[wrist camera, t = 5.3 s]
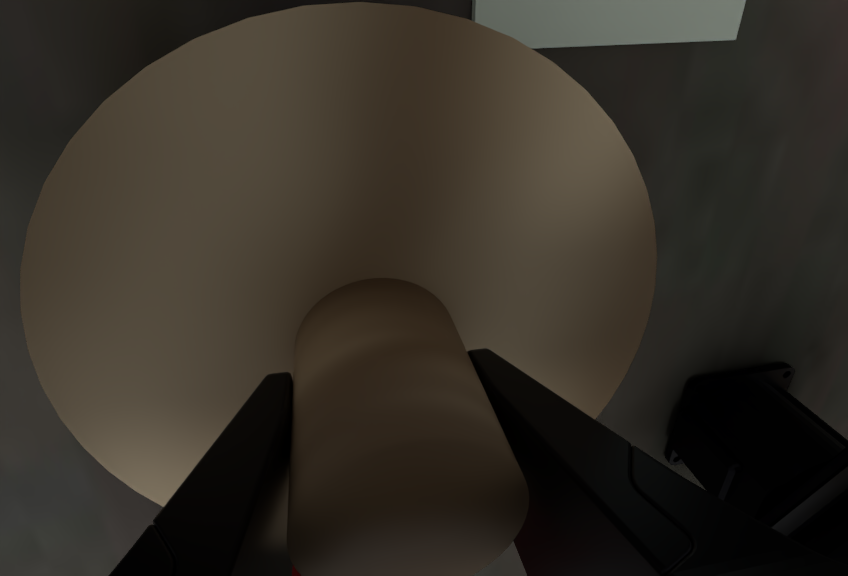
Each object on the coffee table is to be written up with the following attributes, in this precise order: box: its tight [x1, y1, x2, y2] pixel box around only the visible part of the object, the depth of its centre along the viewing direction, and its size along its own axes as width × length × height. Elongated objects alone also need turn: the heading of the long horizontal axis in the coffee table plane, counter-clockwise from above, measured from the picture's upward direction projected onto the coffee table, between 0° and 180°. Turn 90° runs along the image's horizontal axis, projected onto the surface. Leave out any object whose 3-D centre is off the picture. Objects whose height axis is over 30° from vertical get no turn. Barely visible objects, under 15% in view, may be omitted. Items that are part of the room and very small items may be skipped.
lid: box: [20, 2, 657, 576], centre depth 9 cm, size 12×12×5 cm
